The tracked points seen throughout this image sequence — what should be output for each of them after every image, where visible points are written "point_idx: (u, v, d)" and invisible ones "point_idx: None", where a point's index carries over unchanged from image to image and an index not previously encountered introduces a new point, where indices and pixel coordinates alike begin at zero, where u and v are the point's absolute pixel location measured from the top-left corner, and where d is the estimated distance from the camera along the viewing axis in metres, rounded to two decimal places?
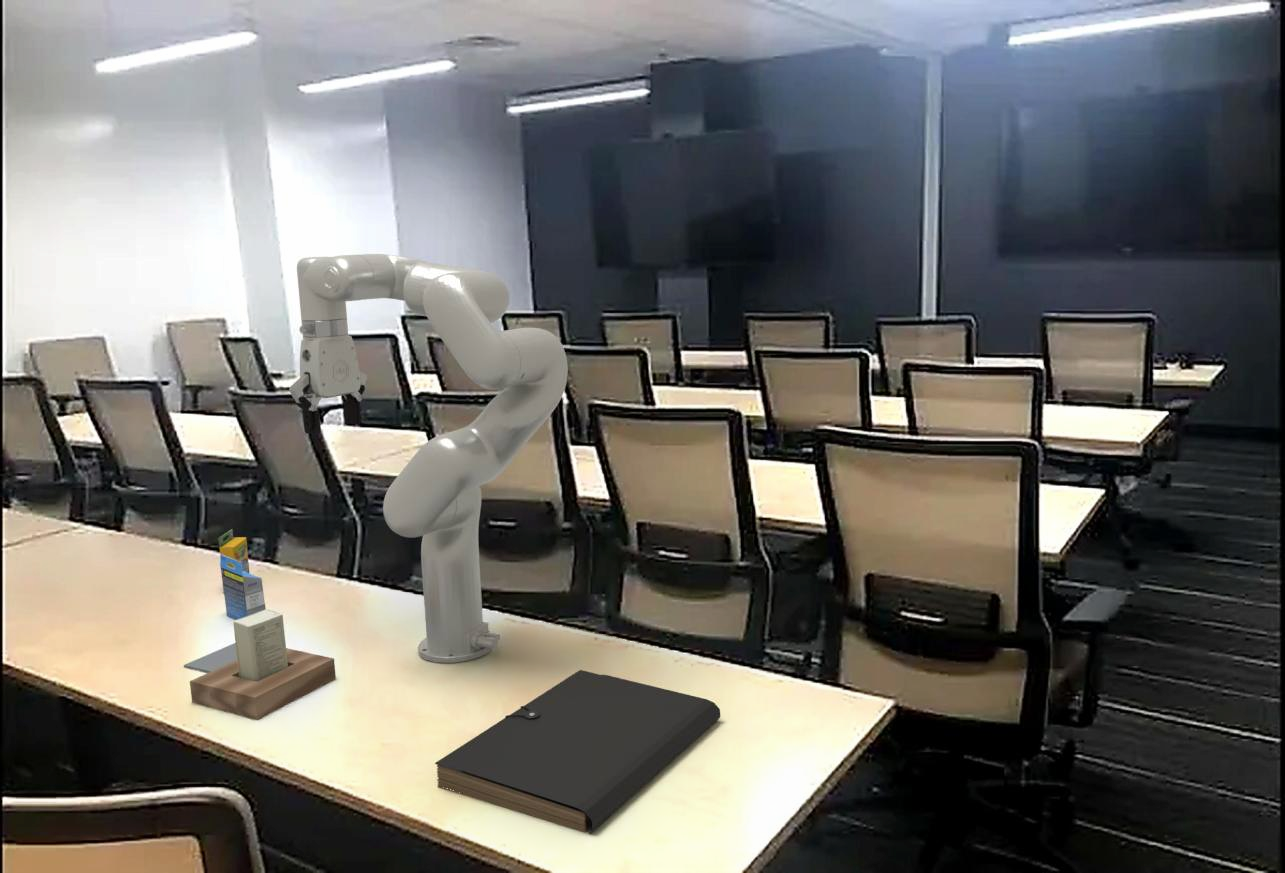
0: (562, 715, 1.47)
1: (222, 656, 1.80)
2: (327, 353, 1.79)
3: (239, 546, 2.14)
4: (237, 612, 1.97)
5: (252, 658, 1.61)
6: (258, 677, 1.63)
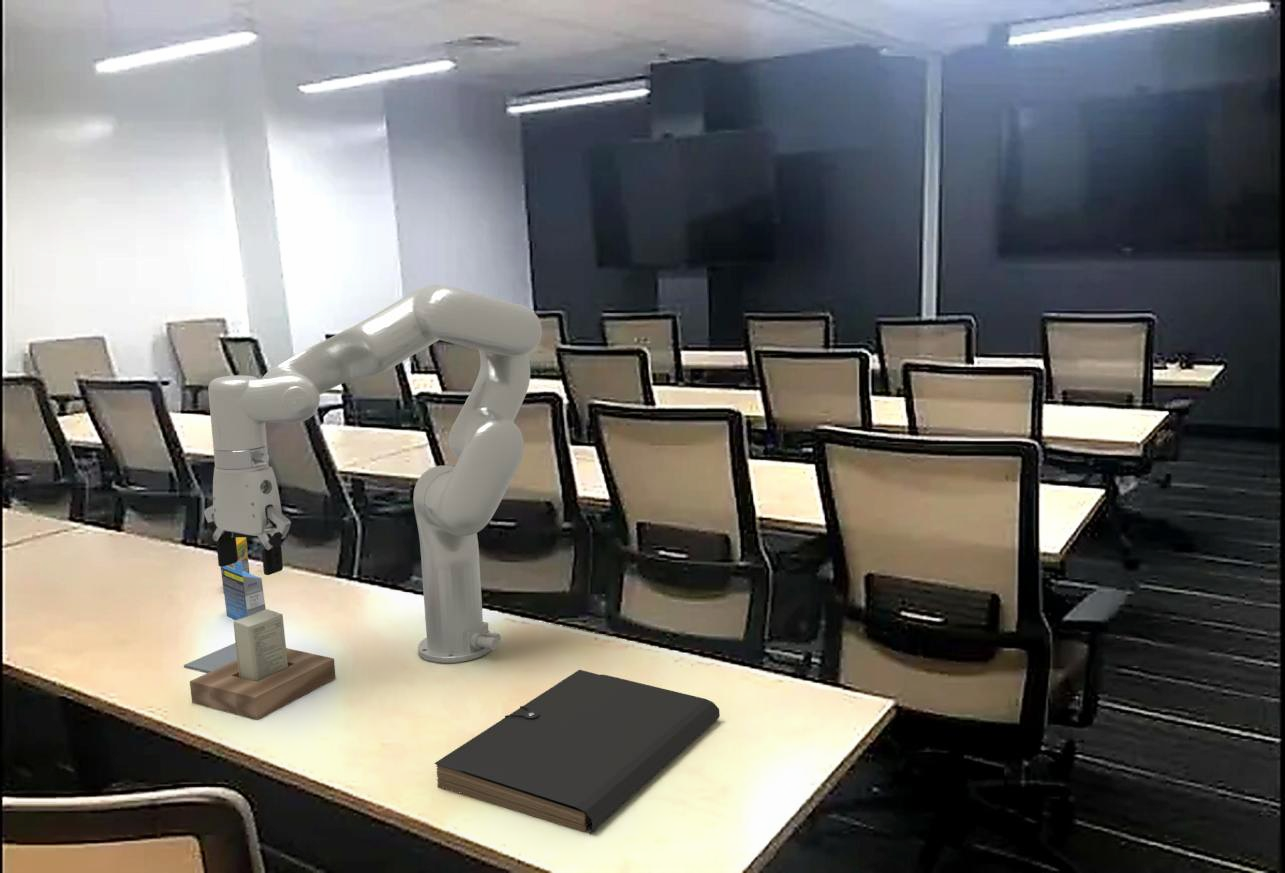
0: (561, 715, 1.47)
1: (222, 656, 1.80)
2: None
3: (239, 546, 2.14)
4: (237, 612, 1.97)
5: (252, 658, 1.61)
6: (258, 677, 1.63)
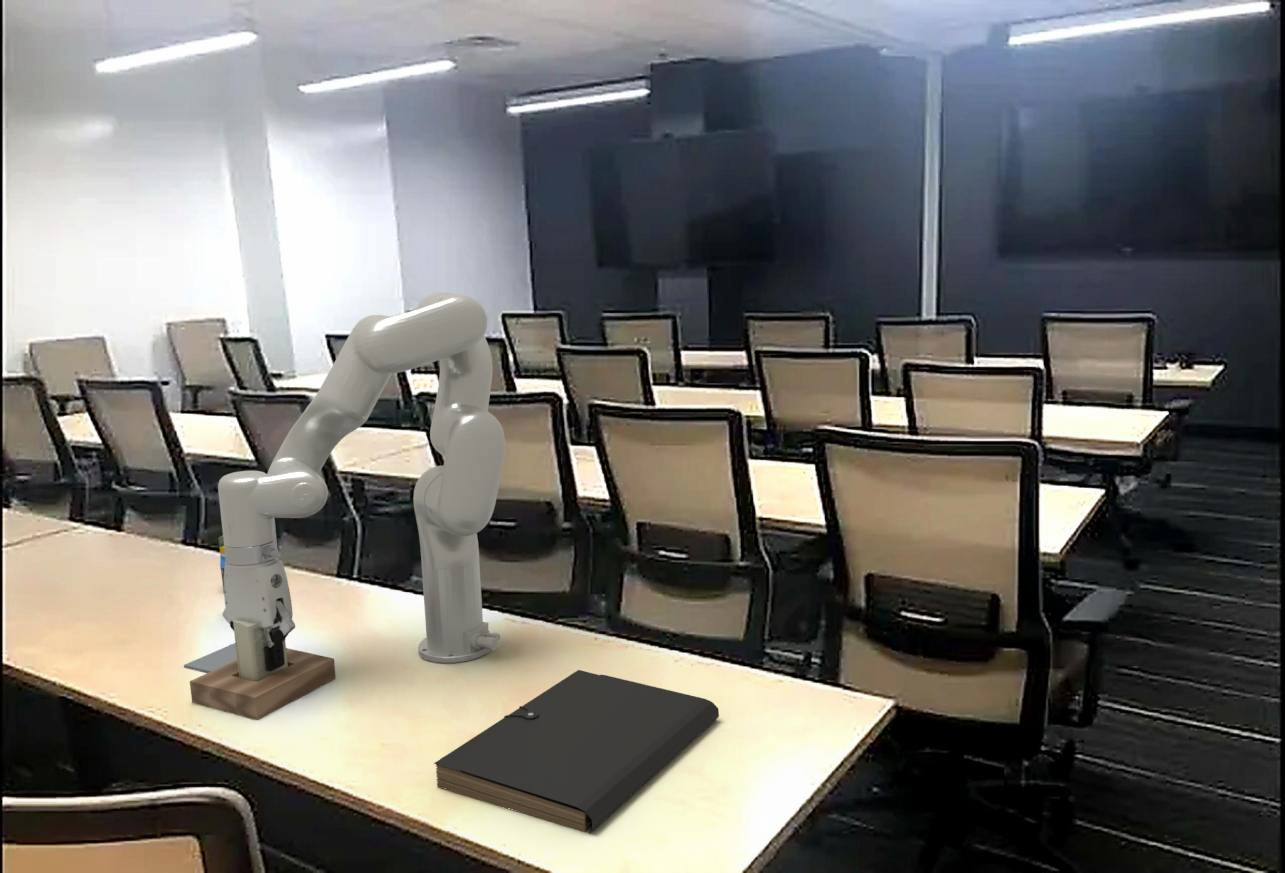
0: (561, 715, 1.47)
1: (222, 656, 1.80)
2: None
3: None
4: None
5: (252, 658, 1.61)
6: (258, 677, 1.63)
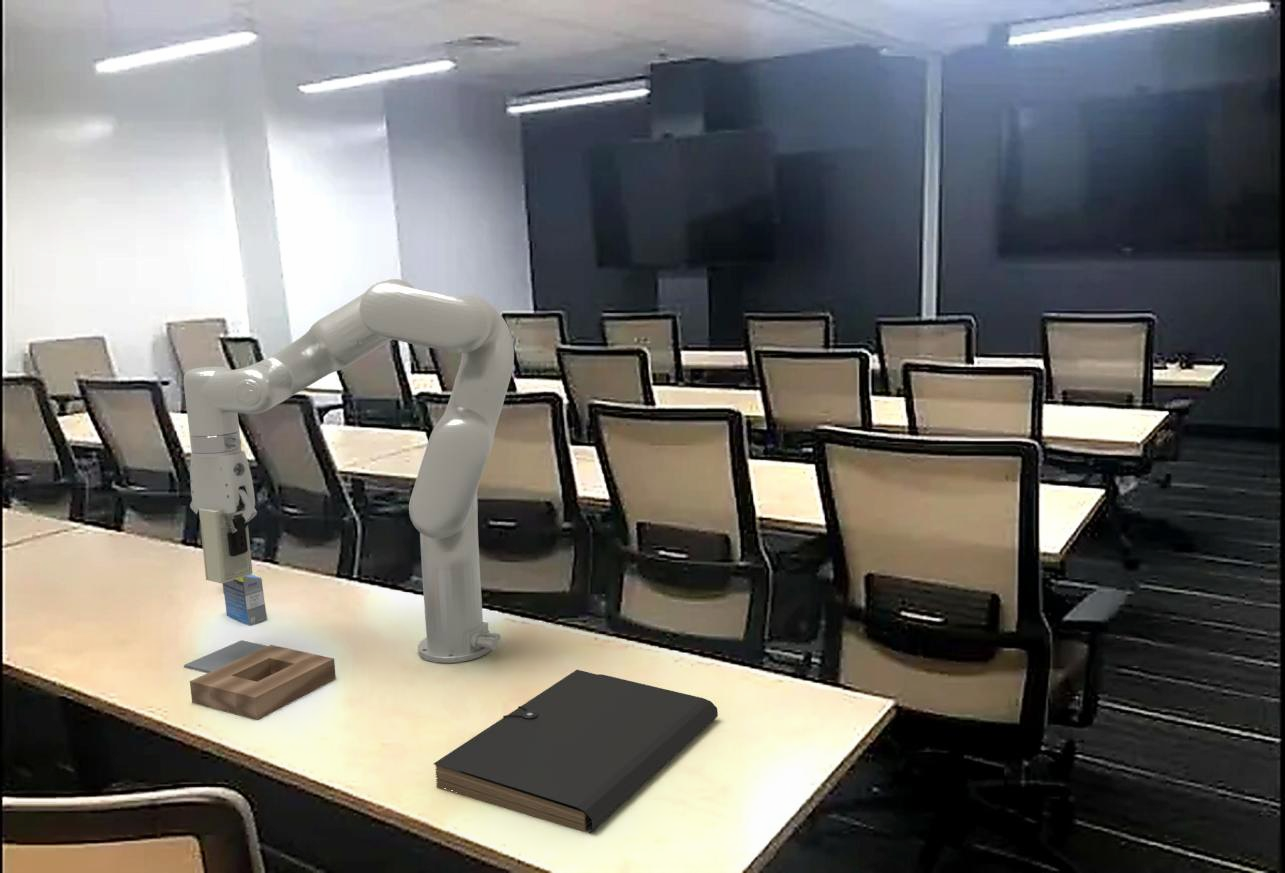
0: (560, 715, 1.47)
1: (222, 656, 1.80)
2: None
3: None
4: (237, 612, 1.97)
5: (217, 543, 1.71)
6: (224, 561, 1.72)
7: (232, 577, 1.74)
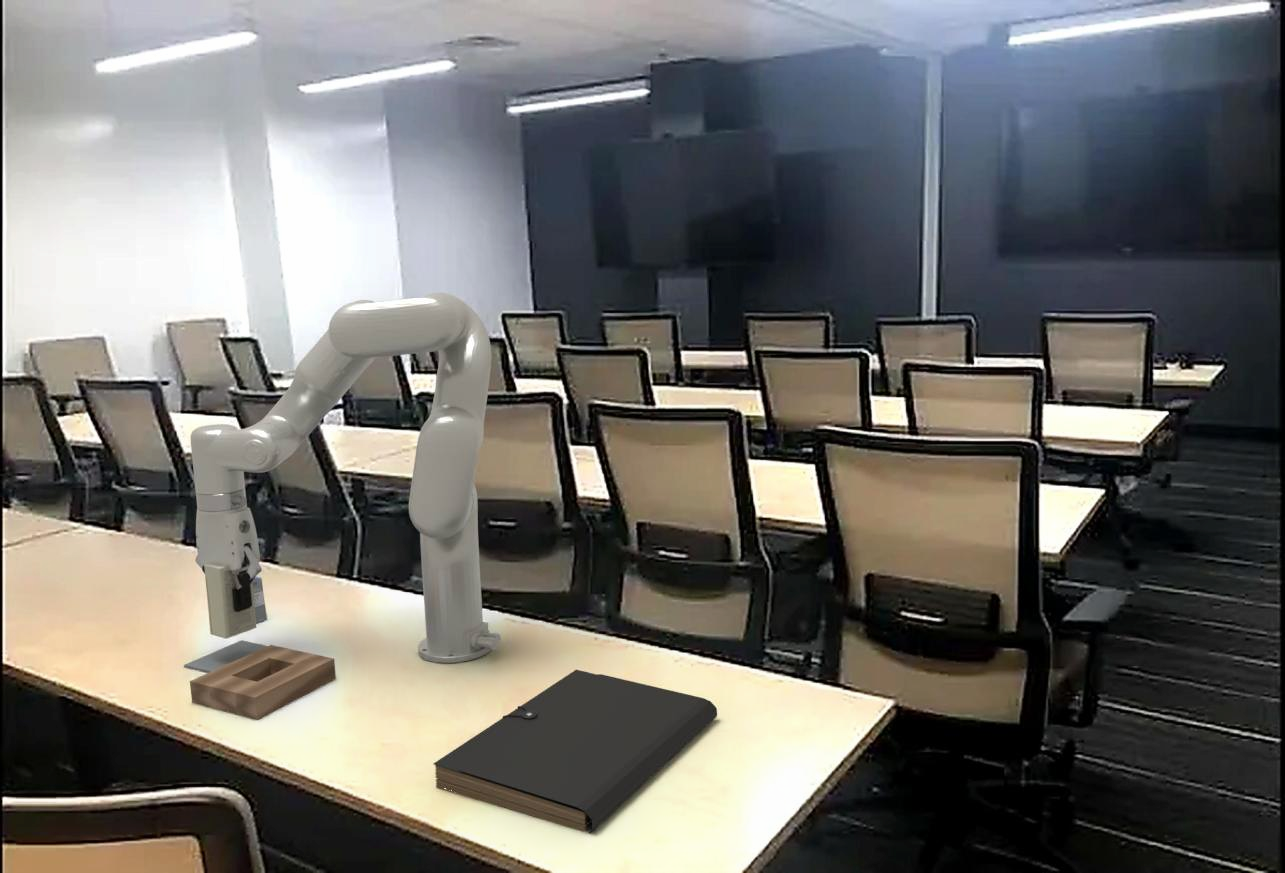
0: (559, 715, 1.47)
1: (222, 656, 1.80)
2: None
3: None
4: None
5: (222, 599, 1.73)
6: (228, 617, 1.74)
7: (236, 632, 1.76)
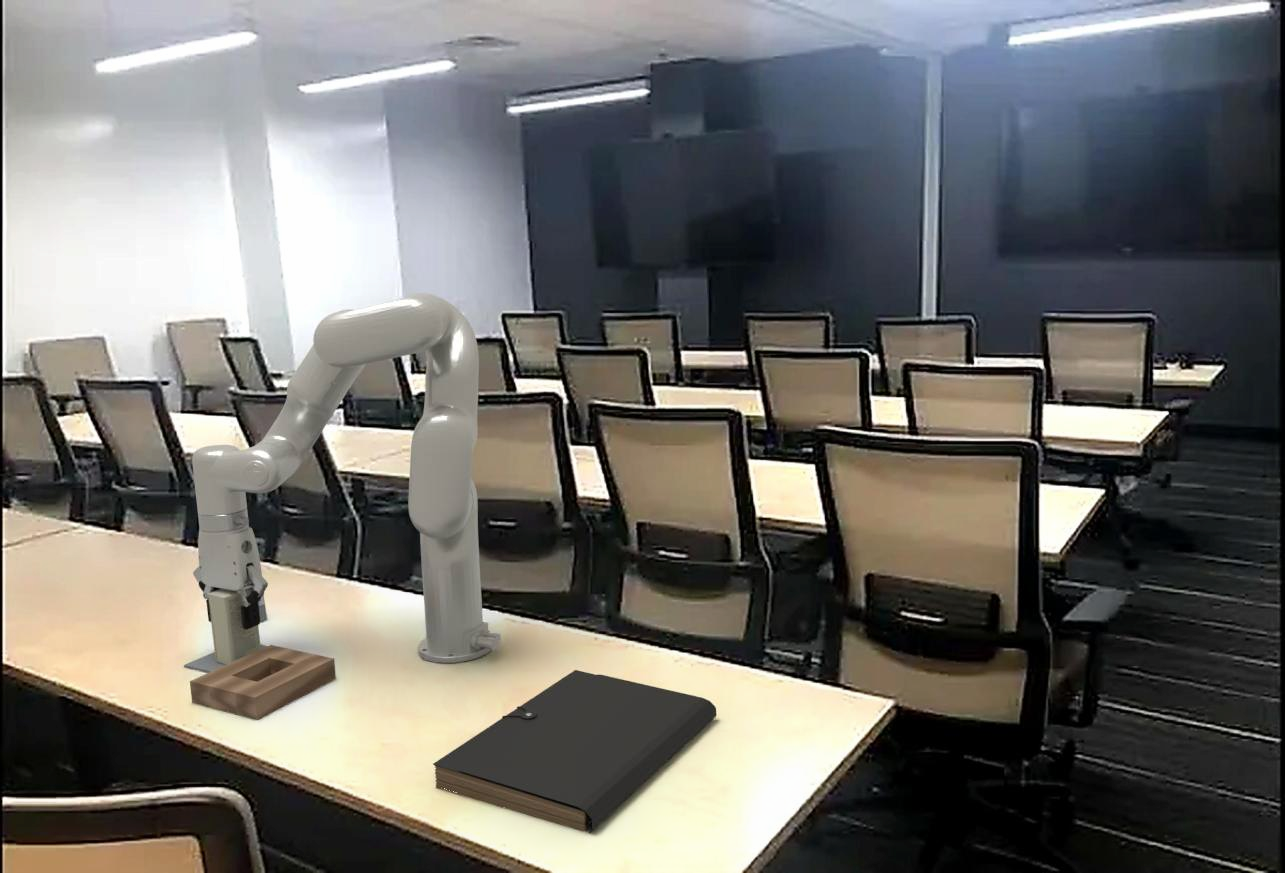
0: (559, 715, 1.47)
1: None
2: None
3: None
4: None
5: (227, 627, 1.74)
6: (233, 645, 1.75)
7: None
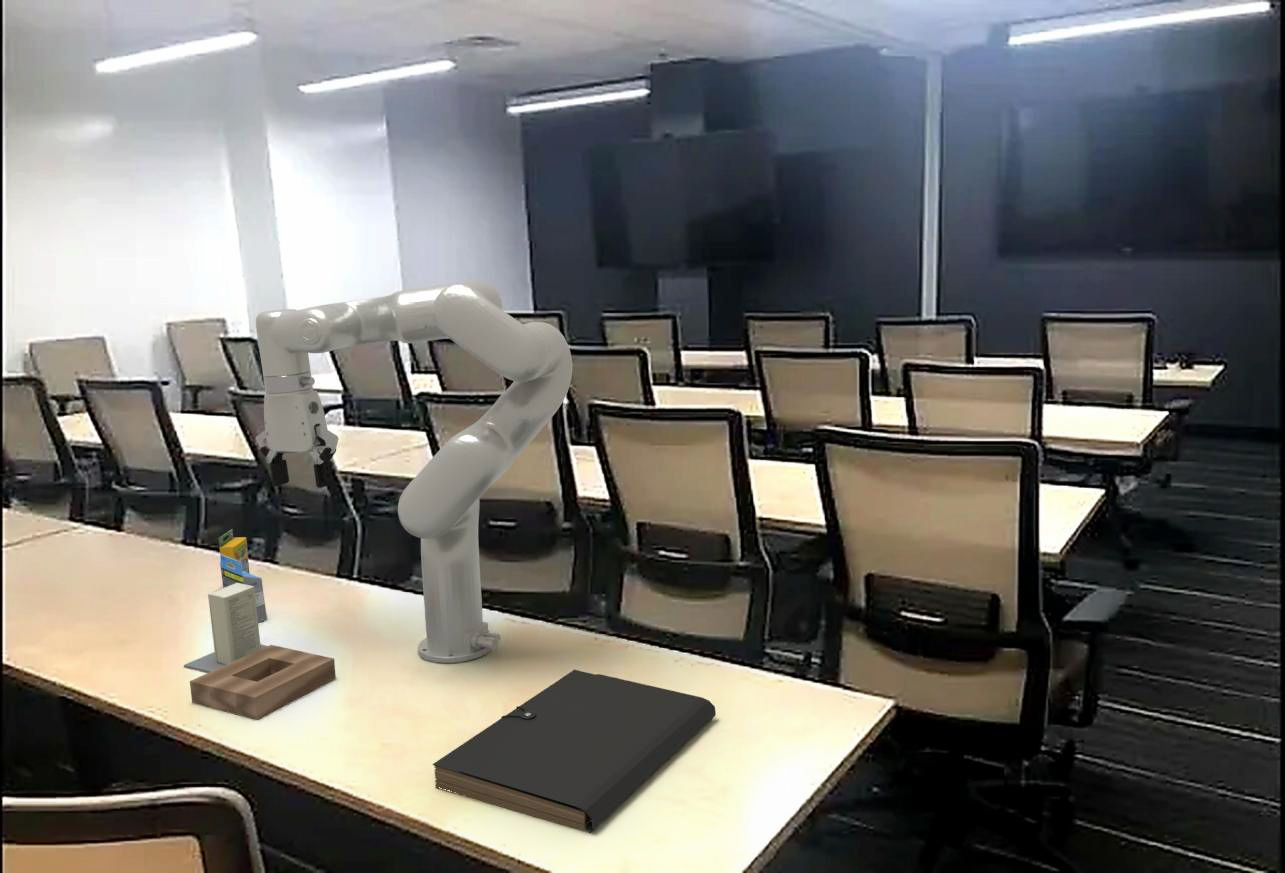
0: (558, 715, 1.47)
1: None
2: None
3: (239, 546, 2.14)
4: None
5: (227, 627, 1.74)
6: (234, 645, 1.75)
7: None
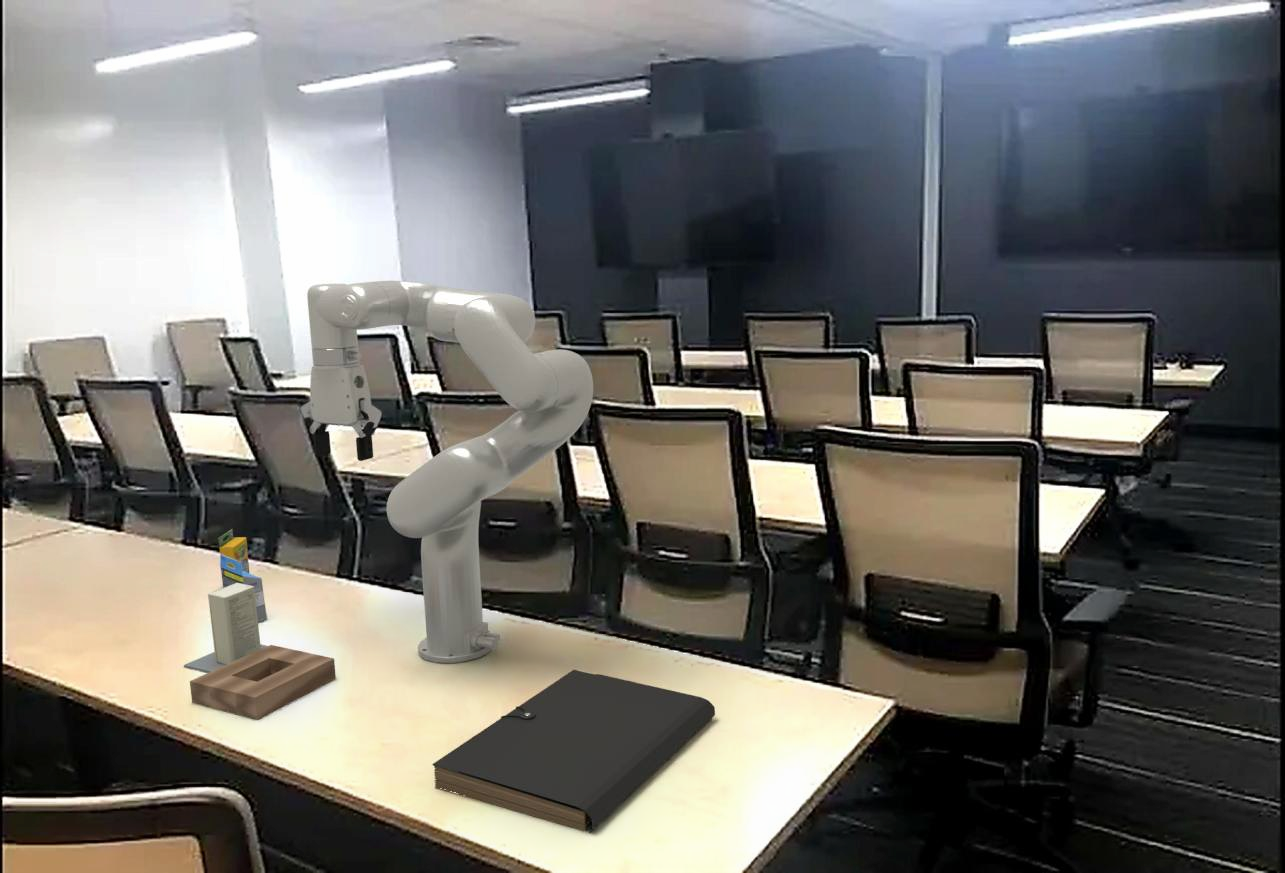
0: (558, 715, 1.47)
1: None
2: None
3: (239, 546, 2.14)
4: None
5: (227, 627, 1.74)
6: (233, 645, 1.75)
7: None
